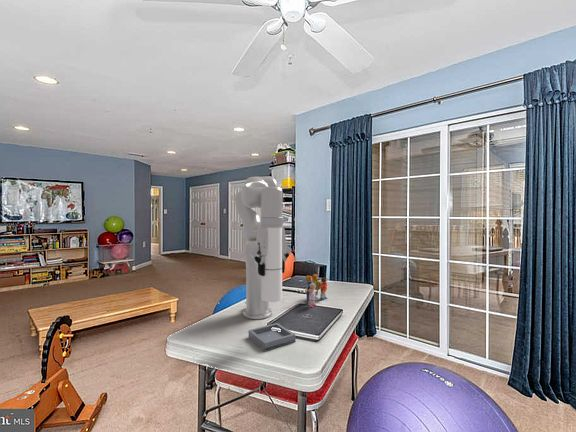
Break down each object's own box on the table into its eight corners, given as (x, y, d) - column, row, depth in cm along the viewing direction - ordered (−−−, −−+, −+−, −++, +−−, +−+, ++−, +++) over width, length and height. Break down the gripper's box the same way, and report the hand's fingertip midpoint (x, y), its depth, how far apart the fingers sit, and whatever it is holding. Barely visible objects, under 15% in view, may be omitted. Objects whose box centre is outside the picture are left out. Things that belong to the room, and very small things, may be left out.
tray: (248, 337, 106) (248, 330, 106) (277, 329, 112) (277, 322, 112) (264, 351, 96) (264, 343, 96) (295, 341, 102) (295, 334, 102)
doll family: (312, 310, 133) (312, 281, 132) (293, 306, 138) (293, 278, 137) (329, 297, 151) (329, 271, 151) (312, 294, 156) (312, 269, 156)
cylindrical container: (281, 295, 107) (281, 226, 106) (282, 301, 100) (282, 227, 99) (262, 295, 107) (261, 226, 106) (260, 302, 100) (260, 227, 99)
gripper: (286, 221, 110) (286, 268, 111) (243, 223, 101) (244, 274, 101) (298, 222, 104) (298, 272, 105) (254, 224, 94) (254, 279, 95)
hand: (271, 273), depth 103 cm, fingers closed on cylindrical container, 7 cm apart
